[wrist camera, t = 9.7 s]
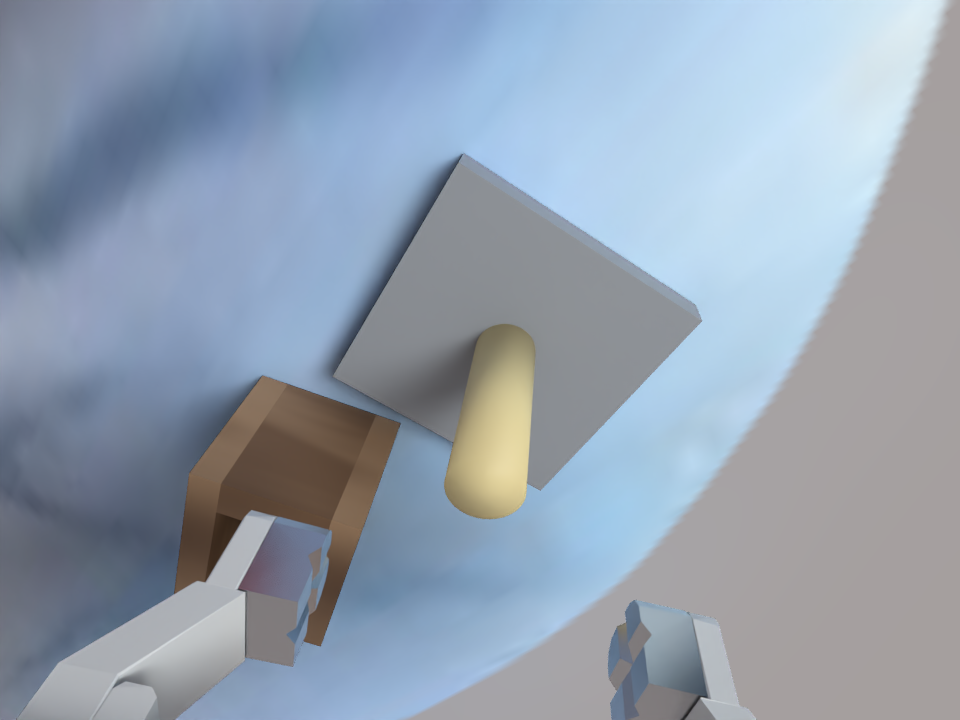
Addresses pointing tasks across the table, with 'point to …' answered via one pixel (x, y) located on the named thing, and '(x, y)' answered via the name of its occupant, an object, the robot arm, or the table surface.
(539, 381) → the post stand
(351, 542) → the collar
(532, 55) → the table surface
